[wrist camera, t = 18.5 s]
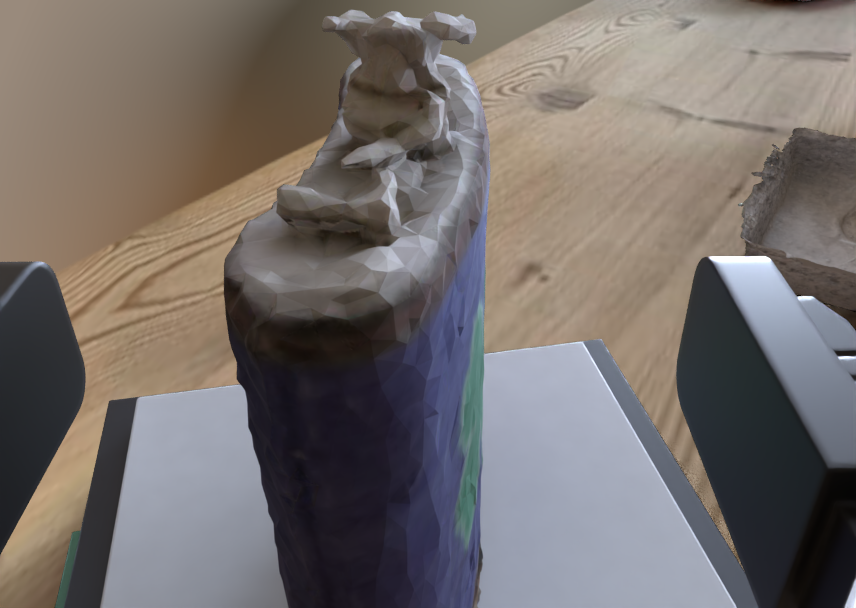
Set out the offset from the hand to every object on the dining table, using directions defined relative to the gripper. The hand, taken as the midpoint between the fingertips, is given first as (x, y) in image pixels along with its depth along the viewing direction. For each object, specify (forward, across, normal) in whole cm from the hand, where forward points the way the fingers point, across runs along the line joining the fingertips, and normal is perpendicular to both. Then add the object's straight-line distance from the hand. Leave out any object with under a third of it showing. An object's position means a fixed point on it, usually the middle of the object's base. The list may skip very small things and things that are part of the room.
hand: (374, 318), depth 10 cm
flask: (+2, 0, +8) cm, 8 cm away
